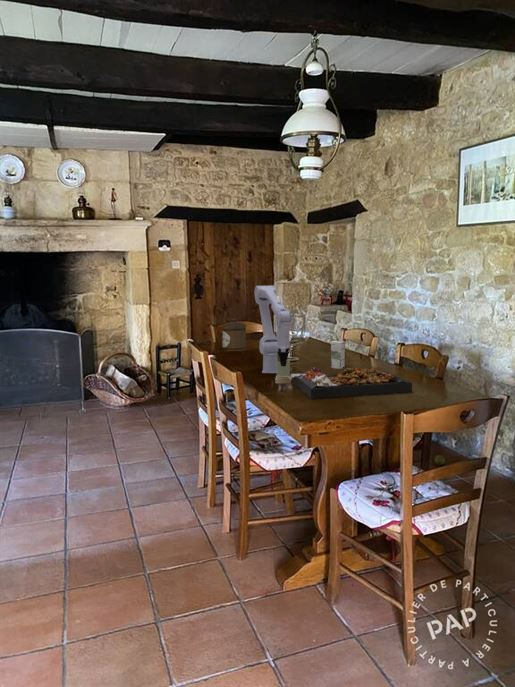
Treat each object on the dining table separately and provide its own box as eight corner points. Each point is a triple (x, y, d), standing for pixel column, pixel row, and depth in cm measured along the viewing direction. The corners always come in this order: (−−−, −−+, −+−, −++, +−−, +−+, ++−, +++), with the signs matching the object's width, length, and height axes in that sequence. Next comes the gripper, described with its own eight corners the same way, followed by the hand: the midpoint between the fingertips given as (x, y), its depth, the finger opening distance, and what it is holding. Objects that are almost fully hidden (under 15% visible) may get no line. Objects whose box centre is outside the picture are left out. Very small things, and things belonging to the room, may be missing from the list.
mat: (291, 374, 249) (291, 373, 249) (306, 374, 248) (306, 373, 248) (291, 377, 242) (291, 377, 241) (307, 378, 241) (307, 377, 241)
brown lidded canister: (221, 351, 319) (220, 317, 315) (244, 350, 321) (244, 316, 318) (224, 355, 304) (223, 319, 301) (248, 354, 307) (247, 319, 303)
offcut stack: (275, 382, 233) (275, 375, 233) (290, 382, 233) (290, 375, 232) (275, 383, 231) (275, 376, 230) (290, 383, 230) (290, 376, 230)
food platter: (311, 399, 204) (311, 374, 203) (294, 385, 228) (294, 363, 226) (411, 393, 213) (412, 369, 212) (385, 380, 237) (386, 359, 236)
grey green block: (277, 377, 240) (277, 361, 239) (289, 377, 240) (289, 361, 239) (277, 378, 238) (277, 361, 237) (289, 378, 238) (289, 362, 237)
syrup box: (344, 367, 265) (345, 340, 263) (340, 369, 260) (341, 342, 258) (334, 366, 268) (335, 339, 266) (330, 368, 263) (330, 341, 260)
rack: (275, 377, 242) (275, 374, 242) (291, 378, 241) (291, 374, 241) (275, 380, 237) (275, 377, 237) (291, 380, 236) (291, 377, 236)
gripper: (275, 334, 243) (275, 361, 245) (274, 338, 229) (274, 367, 231) (290, 334, 243) (290, 361, 245) (289, 338, 229) (289, 367, 231)
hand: (283, 364), depth 238 cm, fingers open, 7 cm apart
